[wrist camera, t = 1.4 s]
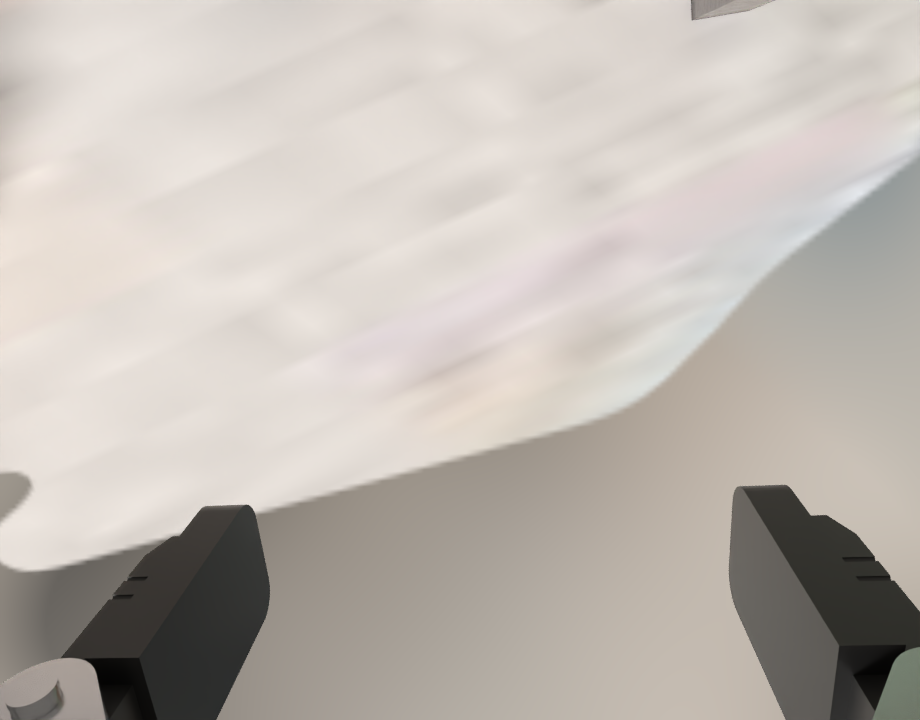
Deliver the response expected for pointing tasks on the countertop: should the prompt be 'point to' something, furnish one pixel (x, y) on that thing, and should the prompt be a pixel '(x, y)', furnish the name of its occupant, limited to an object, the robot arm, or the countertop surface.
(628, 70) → the countertop surface
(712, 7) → the trapdoor frame
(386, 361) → the countertop surface
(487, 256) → the countertop surface
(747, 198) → the countertop surface
